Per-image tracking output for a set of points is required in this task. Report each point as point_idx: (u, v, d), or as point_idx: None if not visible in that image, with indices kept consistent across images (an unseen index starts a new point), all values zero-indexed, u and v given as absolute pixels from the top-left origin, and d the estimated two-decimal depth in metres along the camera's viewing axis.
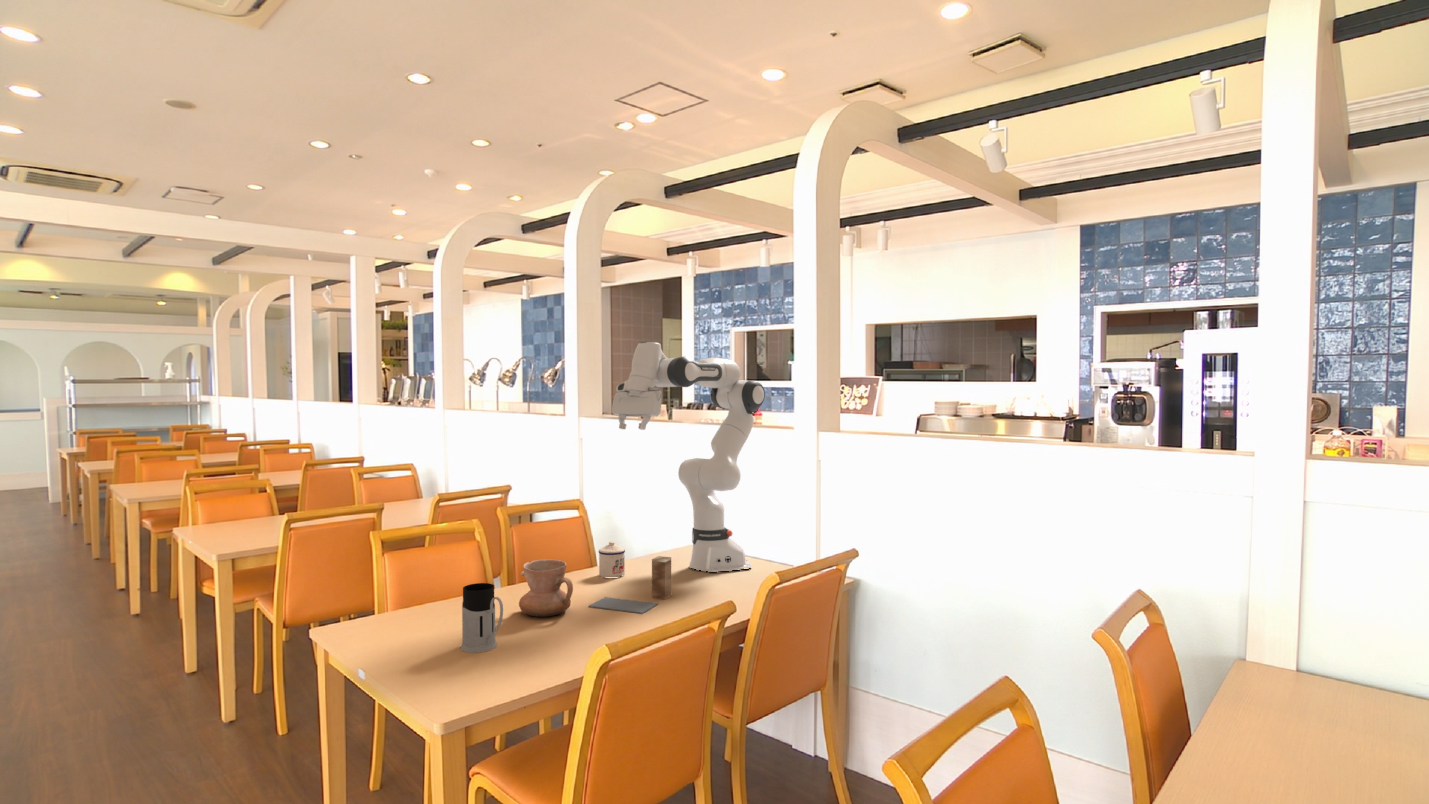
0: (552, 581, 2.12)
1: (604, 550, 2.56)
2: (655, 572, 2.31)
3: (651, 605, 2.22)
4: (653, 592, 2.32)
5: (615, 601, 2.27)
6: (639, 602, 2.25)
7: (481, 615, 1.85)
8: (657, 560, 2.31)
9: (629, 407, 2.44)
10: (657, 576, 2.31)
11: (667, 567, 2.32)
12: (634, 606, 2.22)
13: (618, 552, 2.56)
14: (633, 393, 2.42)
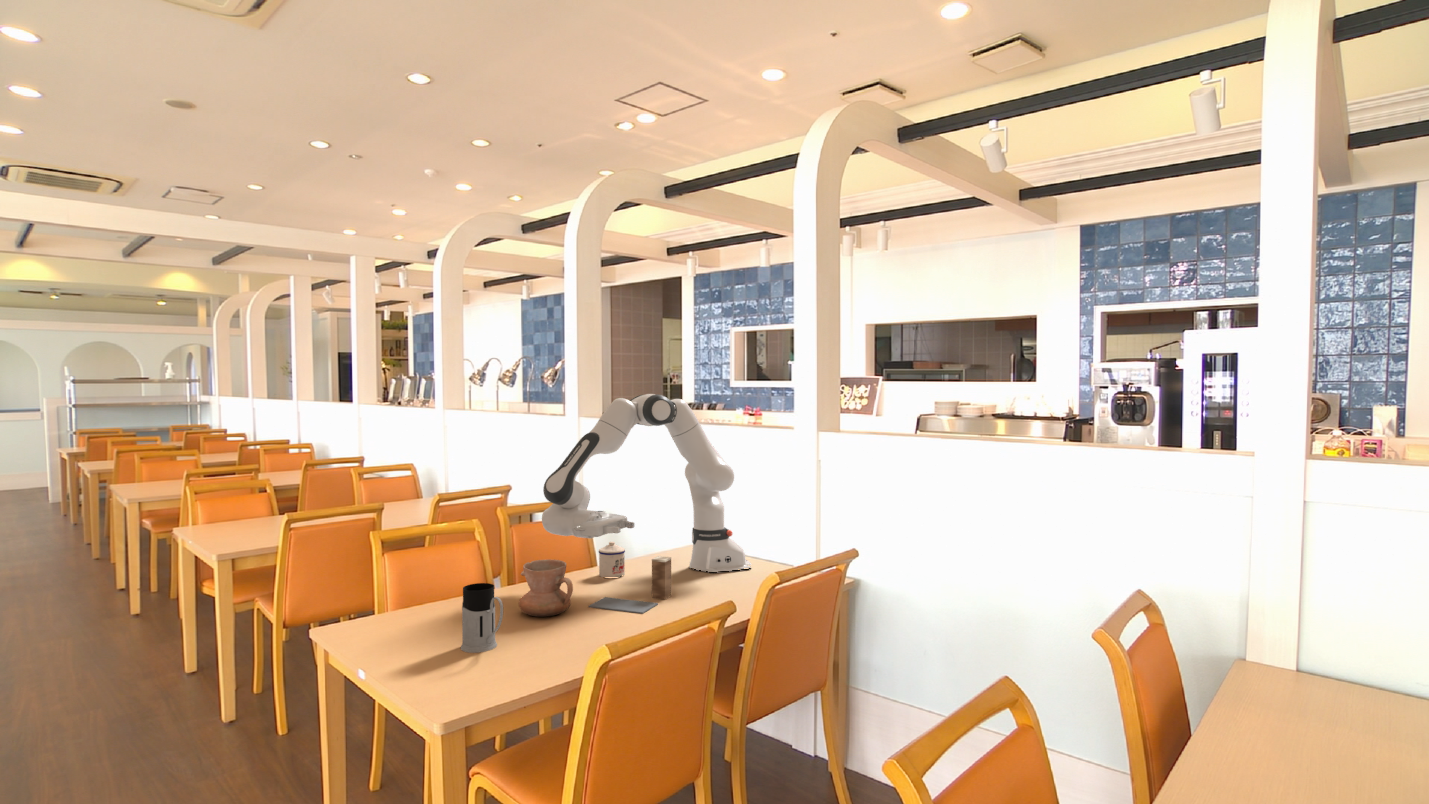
0: (552, 581, 2.12)
1: (604, 550, 2.56)
2: (655, 572, 2.31)
3: (651, 605, 2.22)
4: (653, 592, 2.32)
5: (615, 601, 2.27)
6: (639, 602, 2.25)
7: (481, 615, 1.85)
8: (657, 560, 2.31)
9: None
10: (657, 576, 2.31)
11: (667, 567, 2.32)
12: (634, 606, 2.22)
13: (618, 552, 2.56)
14: None
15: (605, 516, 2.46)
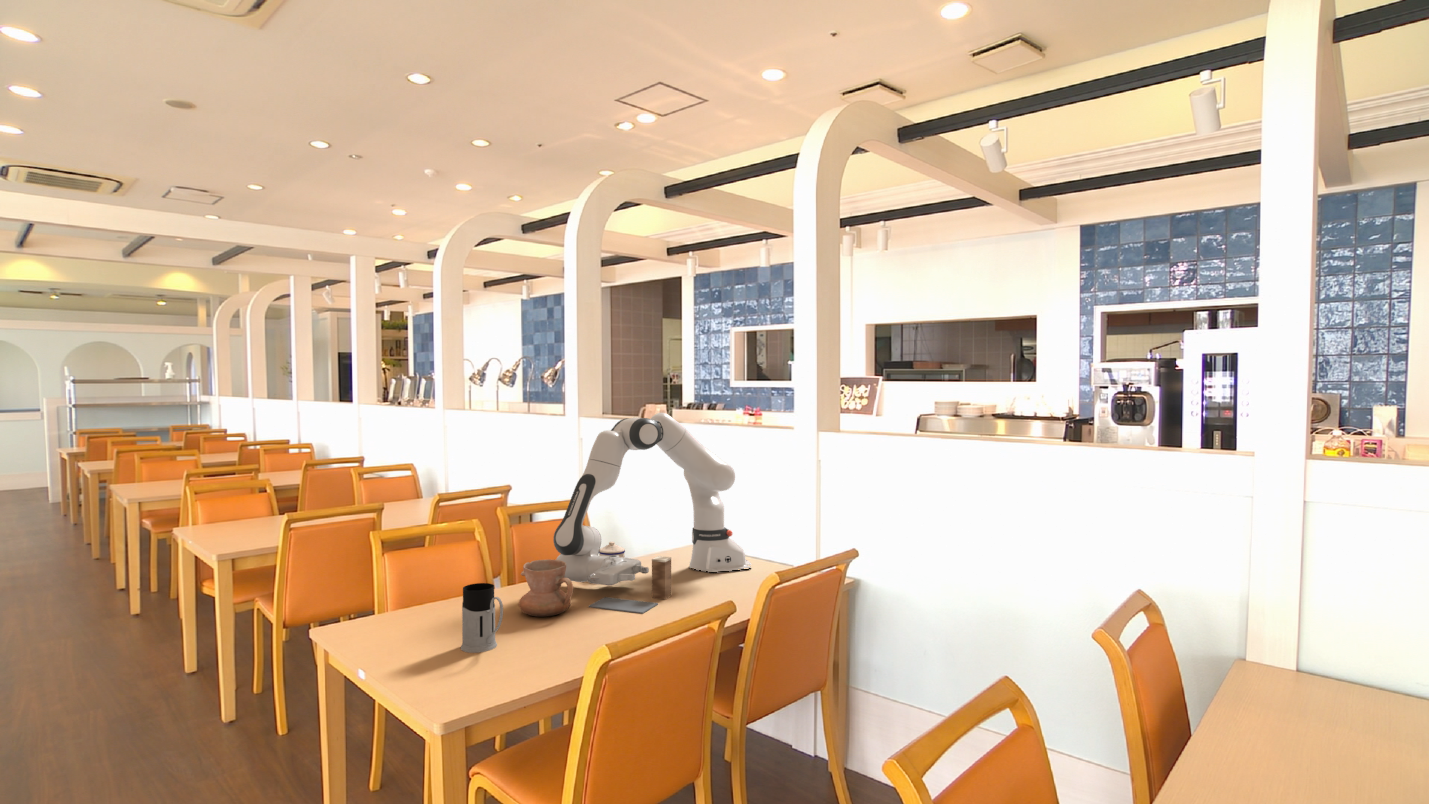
0: (552, 581, 2.12)
1: (604, 550, 2.56)
2: (655, 572, 2.31)
3: (651, 605, 2.22)
4: (653, 592, 2.32)
5: (615, 601, 2.27)
6: (639, 602, 2.25)
7: (481, 615, 1.85)
8: (657, 560, 2.31)
9: None
10: (657, 576, 2.31)
11: (667, 567, 2.32)
12: (634, 606, 2.22)
13: (618, 552, 2.56)
14: None
15: (619, 561, 2.44)
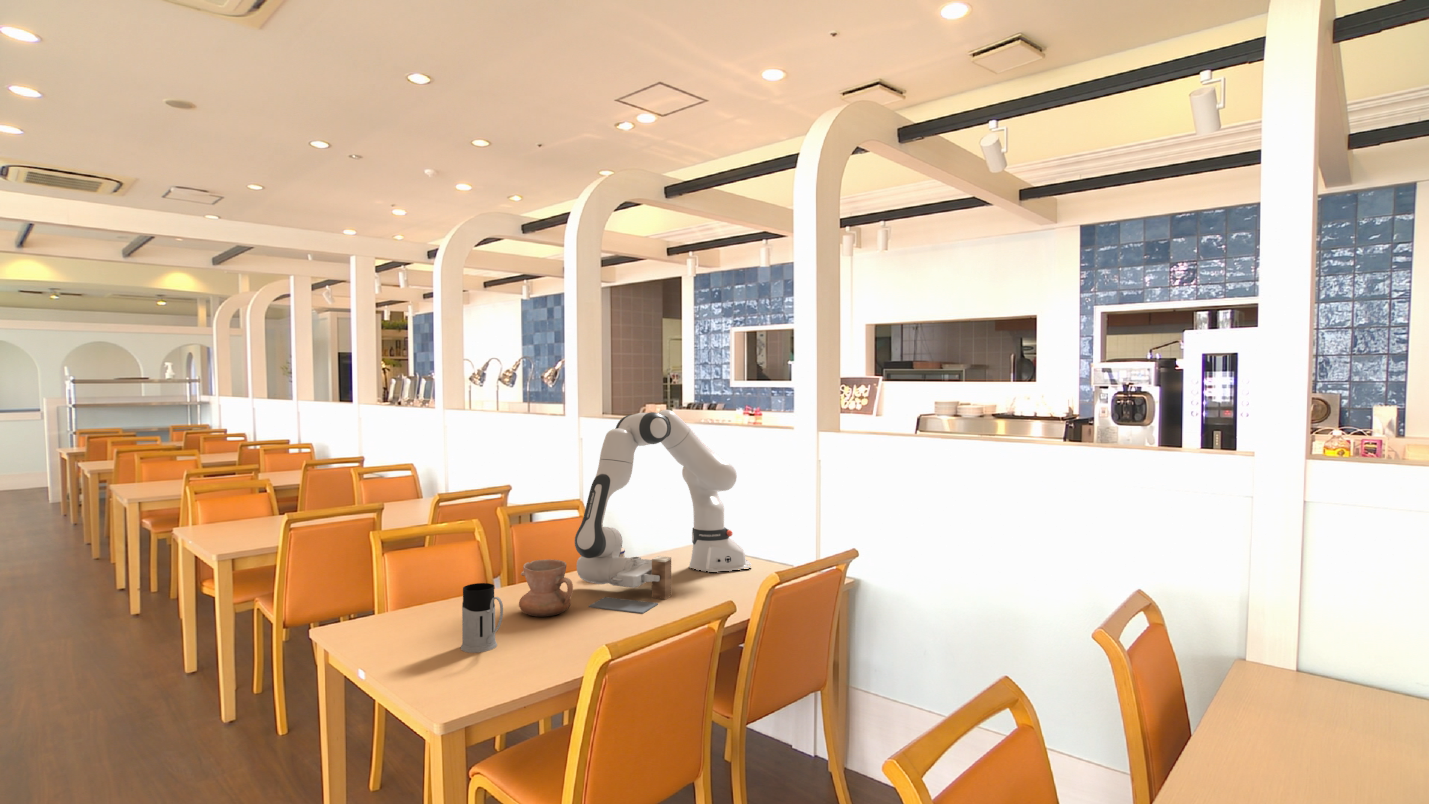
0: (552, 580, 2.12)
1: None
2: (655, 572, 2.31)
3: (651, 605, 2.22)
4: (653, 592, 2.32)
5: (615, 601, 2.27)
6: (639, 602, 2.25)
7: (481, 615, 1.85)
8: (657, 560, 2.31)
9: None
10: None
11: (667, 567, 2.32)
12: (634, 606, 2.22)
13: None
14: None
15: (641, 563, 2.41)
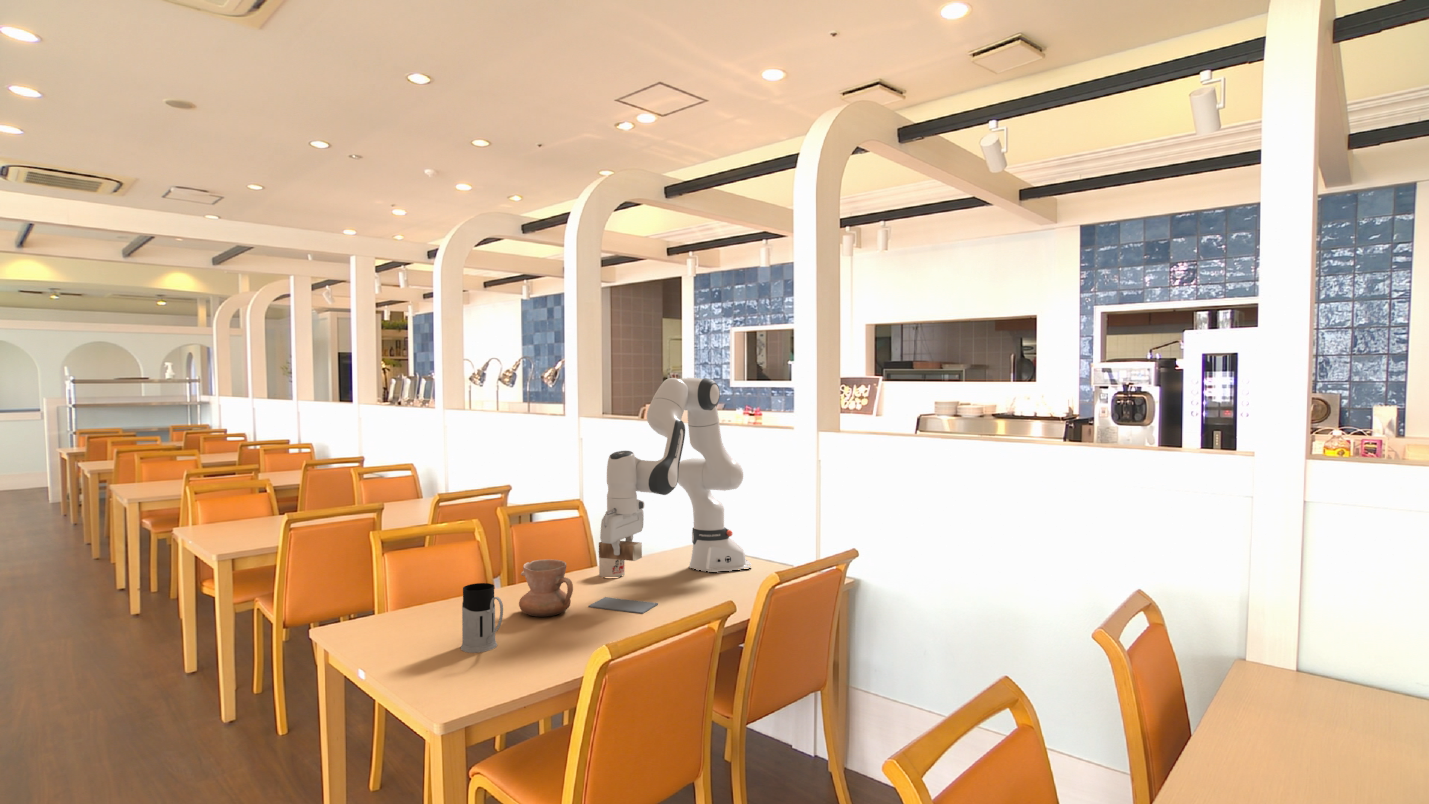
0: (552, 580, 2.12)
1: None
2: (622, 548, 2.21)
3: (651, 605, 2.22)
4: (603, 544, 2.23)
5: (615, 601, 2.27)
6: (639, 602, 2.25)
7: (481, 615, 1.85)
8: (633, 552, 2.20)
9: None
10: None
11: None
12: (634, 606, 2.22)
13: None
14: None
15: (636, 515, 2.27)
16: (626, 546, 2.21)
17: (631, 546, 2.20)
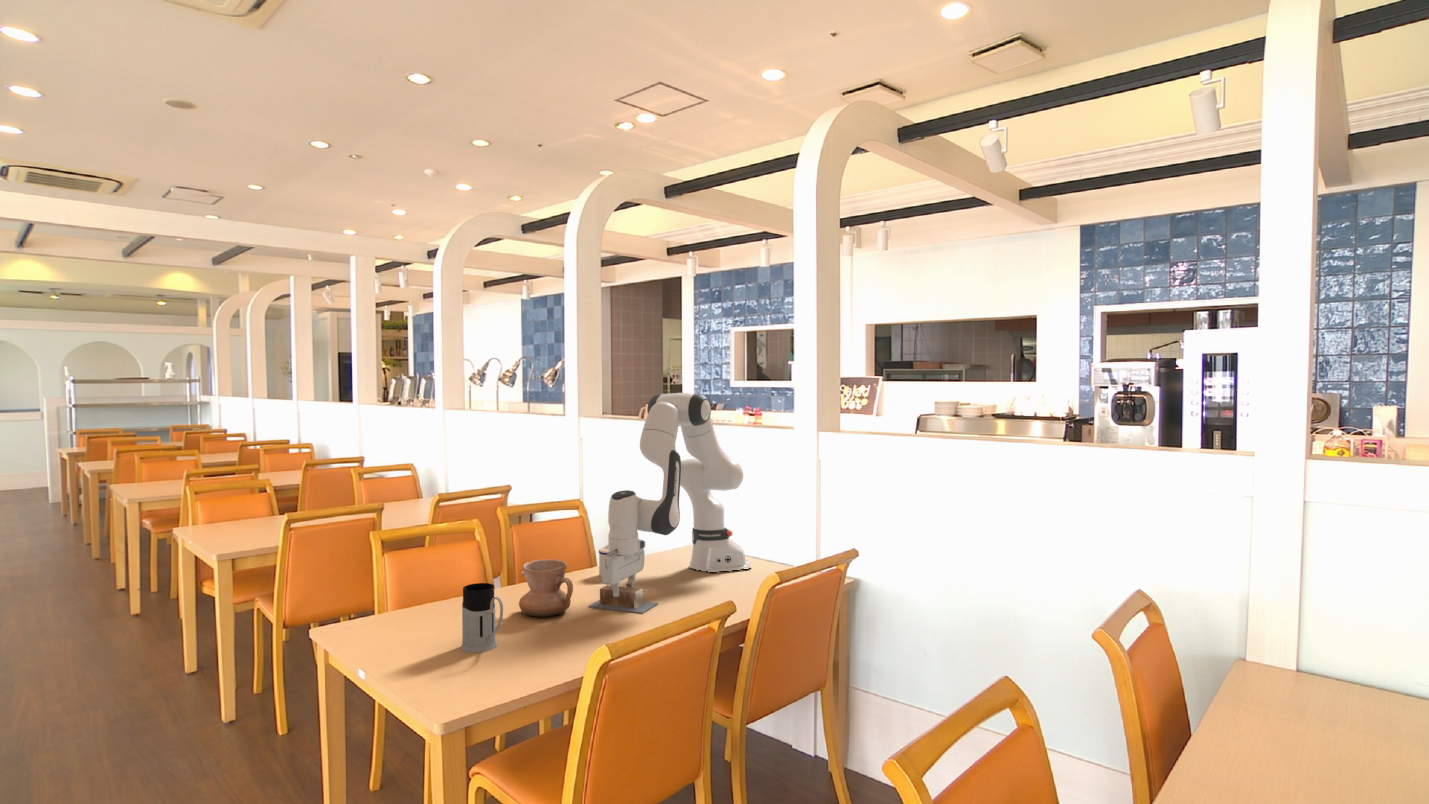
0: (552, 580, 2.12)
1: (604, 550, 2.56)
2: (623, 595, 2.21)
3: (651, 605, 2.22)
4: (605, 591, 2.23)
5: None
6: None
7: (481, 615, 1.85)
8: (635, 599, 2.20)
9: None
10: (620, 598, 2.21)
11: None
12: None
13: None
14: None
15: (637, 554, 2.27)
16: (627, 593, 2.21)
17: (632, 593, 2.20)
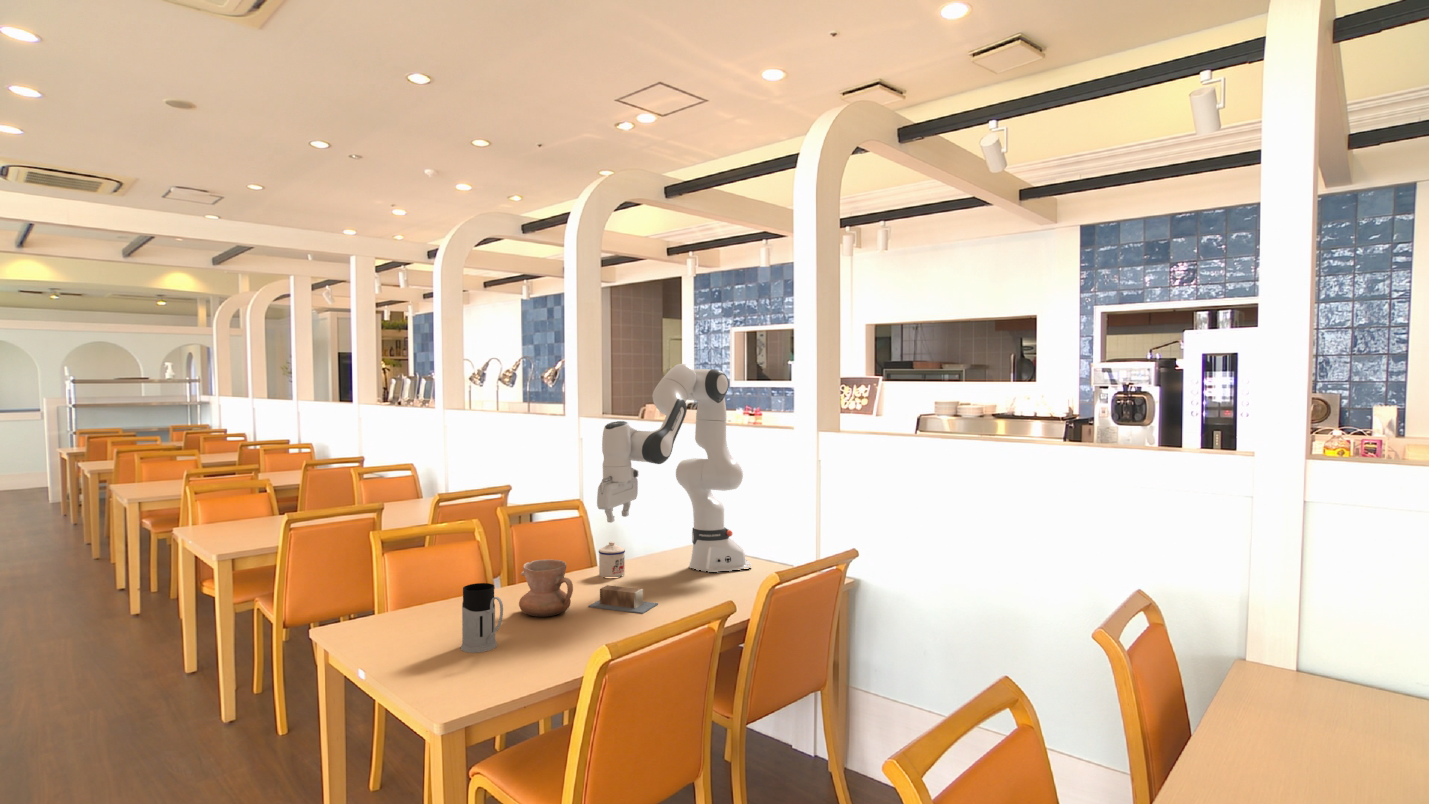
0: (552, 581, 2.12)
1: (604, 550, 2.56)
2: (623, 595, 2.21)
3: (651, 605, 2.22)
4: (605, 591, 2.23)
5: None
6: None
7: (481, 615, 1.85)
8: (635, 599, 2.20)
9: None
10: (620, 598, 2.21)
11: None
12: None
13: (618, 552, 2.56)
14: None
15: (630, 483, 2.36)
16: (627, 593, 2.21)
17: (632, 593, 2.20)
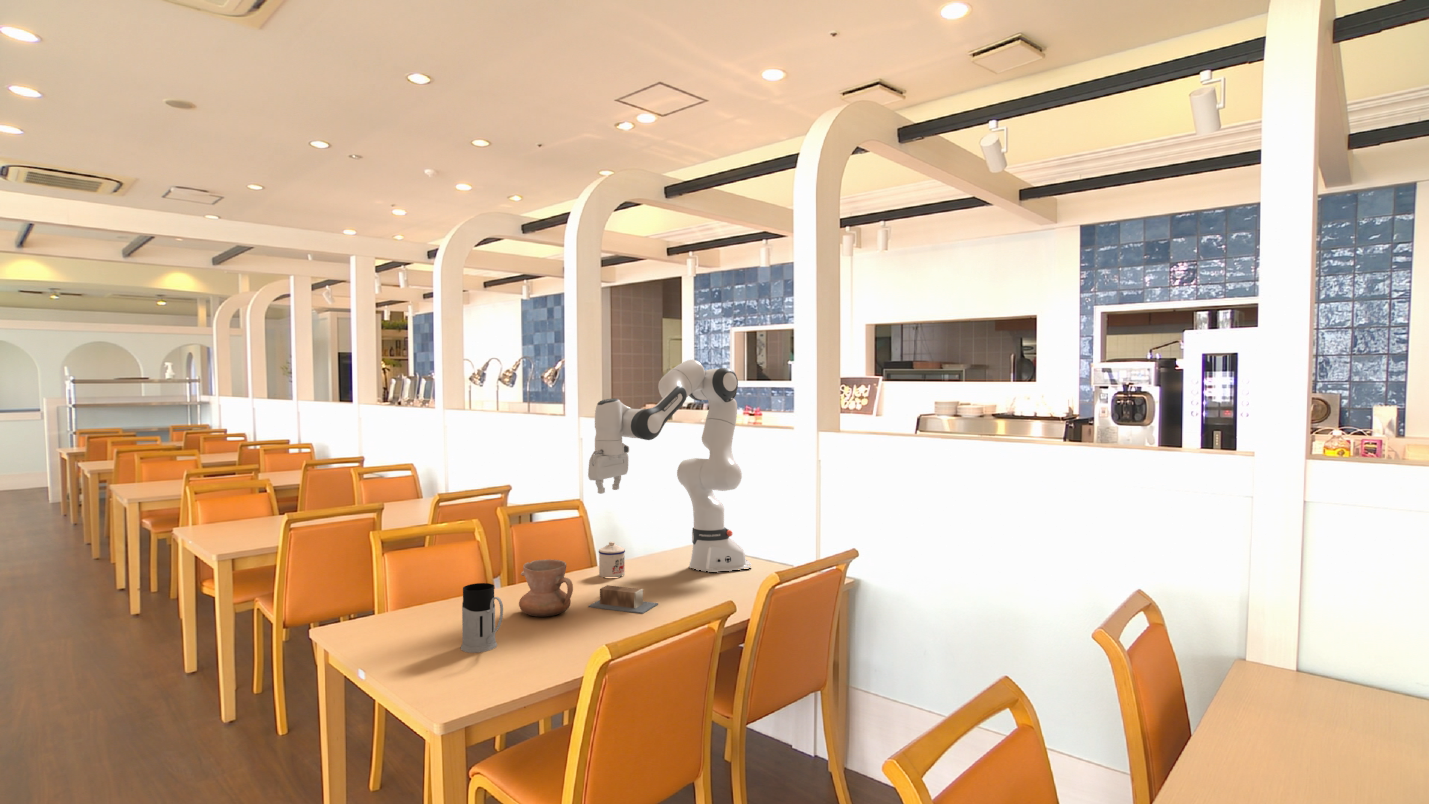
0: (552, 580, 2.12)
1: (604, 550, 2.56)
2: (623, 595, 2.21)
3: (651, 605, 2.22)
4: (605, 591, 2.23)
5: None
6: None
7: (481, 615, 1.85)
8: (635, 599, 2.20)
9: None
10: (620, 598, 2.21)
11: None
12: None
13: (618, 552, 2.56)
14: None
15: (621, 458, 2.48)
16: (627, 593, 2.21)
17: (632, 593, 2.20)
